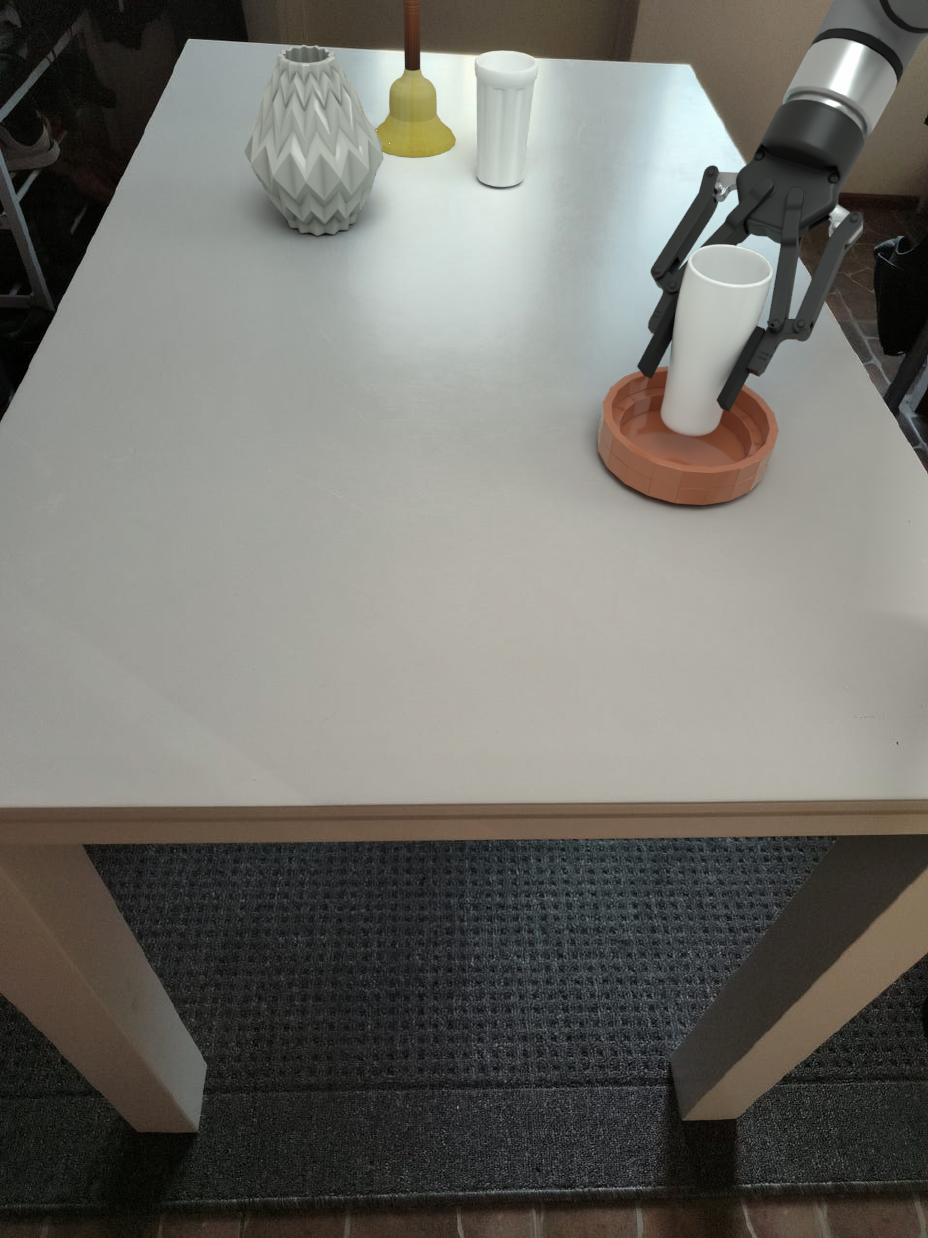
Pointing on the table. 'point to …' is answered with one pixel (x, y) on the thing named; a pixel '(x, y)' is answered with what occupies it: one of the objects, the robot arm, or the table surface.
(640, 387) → the bowl
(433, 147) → the handbell
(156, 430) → the table surface
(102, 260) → the table surface
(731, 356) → the drinking glass
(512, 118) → the cup
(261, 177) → the vase
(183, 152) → the table surface
